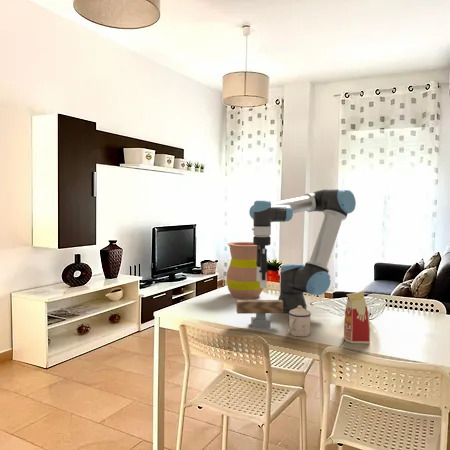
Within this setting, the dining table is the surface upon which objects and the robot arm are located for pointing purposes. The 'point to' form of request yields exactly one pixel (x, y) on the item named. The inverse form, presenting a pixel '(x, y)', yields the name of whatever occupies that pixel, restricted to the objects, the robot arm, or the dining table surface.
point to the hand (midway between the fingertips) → (261, 284)
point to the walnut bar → (259, 306)
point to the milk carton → (356, 319)
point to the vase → (243, 271)
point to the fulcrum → (260, 321)
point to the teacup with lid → (299, 322)
